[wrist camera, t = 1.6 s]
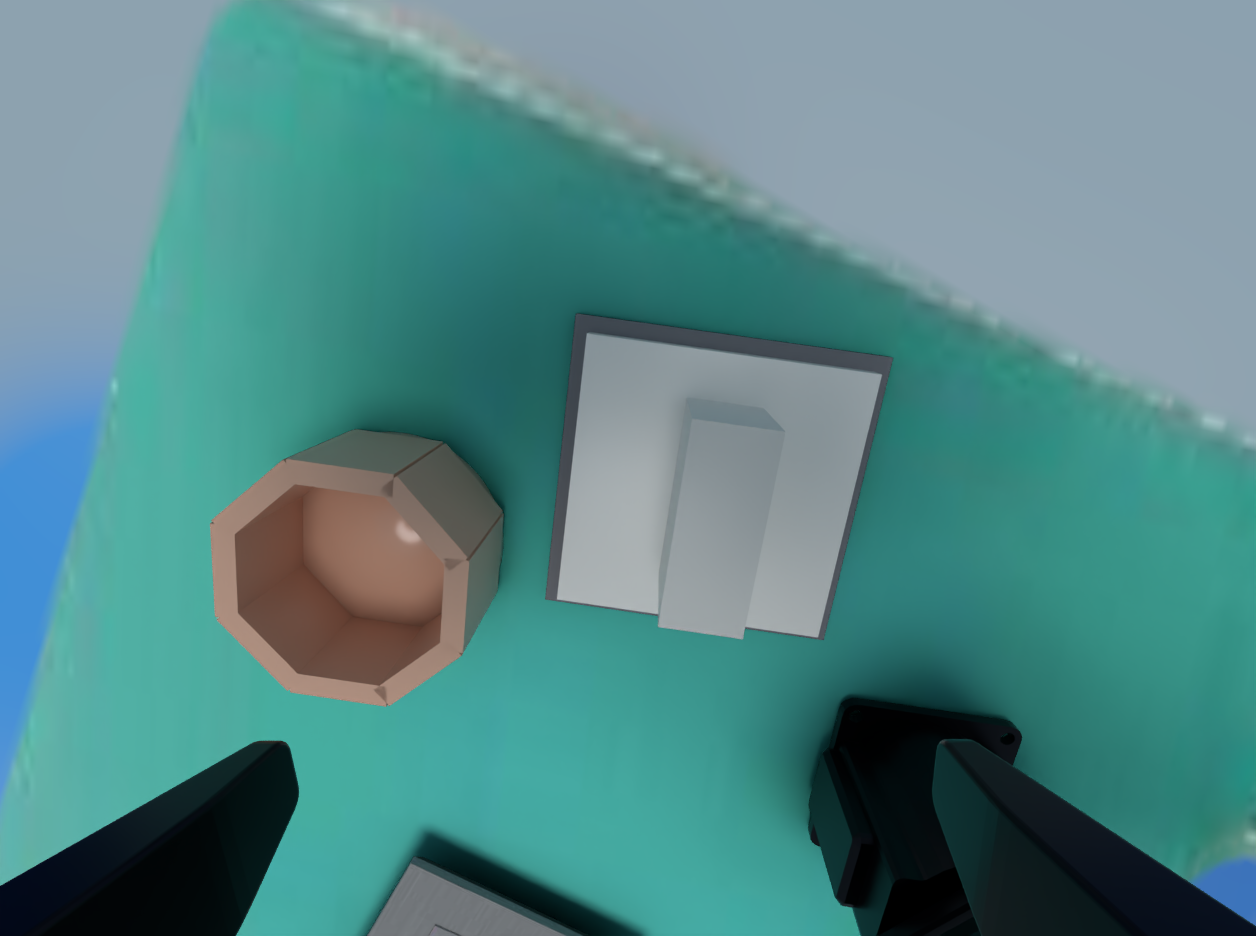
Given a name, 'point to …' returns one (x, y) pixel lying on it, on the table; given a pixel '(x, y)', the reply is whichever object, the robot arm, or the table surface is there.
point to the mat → (708, 341)
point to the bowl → (358, 565)
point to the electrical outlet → (457, 908)
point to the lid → (711, 484)
